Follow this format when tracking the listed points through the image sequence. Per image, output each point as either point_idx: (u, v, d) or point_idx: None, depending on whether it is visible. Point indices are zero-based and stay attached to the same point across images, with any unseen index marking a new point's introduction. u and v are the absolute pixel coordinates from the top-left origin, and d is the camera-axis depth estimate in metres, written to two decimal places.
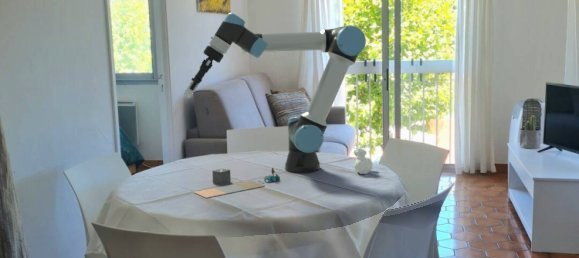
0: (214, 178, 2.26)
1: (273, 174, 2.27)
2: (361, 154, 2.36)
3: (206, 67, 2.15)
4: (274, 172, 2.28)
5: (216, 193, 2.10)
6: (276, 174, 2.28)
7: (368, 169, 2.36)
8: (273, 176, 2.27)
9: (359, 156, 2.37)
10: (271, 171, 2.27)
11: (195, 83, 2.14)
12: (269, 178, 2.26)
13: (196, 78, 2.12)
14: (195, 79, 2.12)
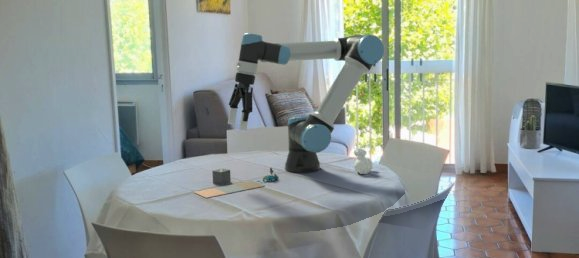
0: (214, 178, 2.26)
1: None
2: (361, 154, 2.36)
3: (250, 94, 2.15)
4: (272, 172, 2.29)
5: (216, 193, 2.10)
6: None
7: (368, 169, 2.36)
8: (272, 176, 2.28)
9: (359, 156, 2.37)
10: (270, 171, 2.27)
11: (247, 114, 2.14)
12: (268, 178, 2.26)
13: (247, 109, 2.12)
14: (247, 110, 2.12)
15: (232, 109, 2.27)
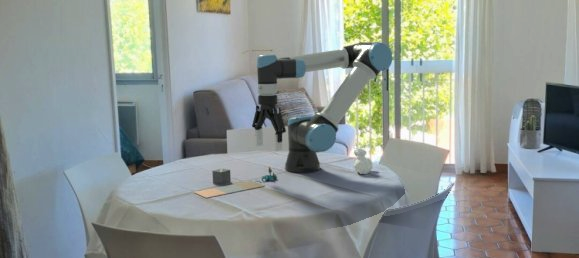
0: (214, 178, 2.26)
1: (270, 173, 2.29)
2: (361, 154, 2.36)
3: (279, 115, 2.17)
4: (271, 171, 2.30)
5: (216, 193, 2.10)
6: (273, 173, 2.29)
7: (368, 169, 2.36)
8: (270, 175, 2.28)
9: (359, 156, 2.37)
10: None
11: (280, 134, 2.17)
12: (266, 177, 2.27)
13: (281, 130, 2.15)
14: (281, 132, 2.15)
15: (258, 131, 2.29)
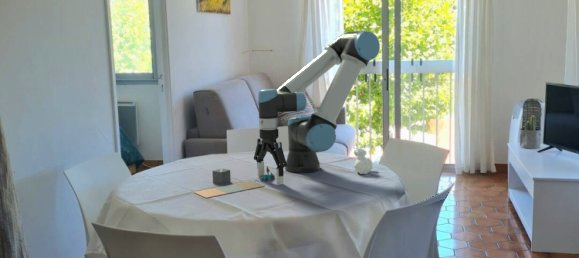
0: (214, 178, 2.26)
1: (268, 173, 2.30)
2: (361, 154, 2.36)
3: (280, 150, 2.19)
4: (269, 171, 2.31)
5: (216, 193, 2.10)
6: (271, 173, 2.30)
7: (368, 169, 2.36)
8: (268, 175, 2.30)
9: (359, 156, 2.37)
10: None
11: (282, 169, 2.19)
12: (265, 177, 2.28)
13: (283, 165, 2.17)
14: (282, 166, 2.17)
15: (260, 163, 2.31)
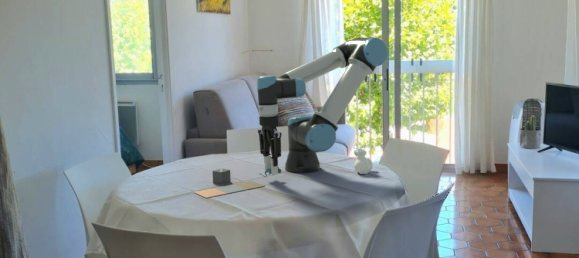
0: (214, 178, 2.26)
1: None
2: (361, 154, 2.36)
3: (279, 140, 2.20)
4: None
5: (216, 193, 2.10)
6: None
7: (368, 169, 2.36)
8: None
9: (359, 156, 2.37)
10: None
11: (276, 159, 2.23)
12: (269, 171, 2.25)
13: (277, 155, 2.21)
14: (277, 156, 2.21)
15: (266, 157, 2.27)
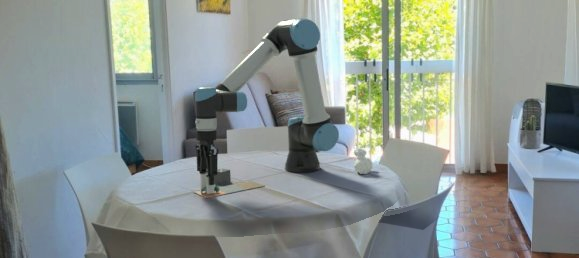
0: (214, 178, 2.26)
1: None
2: (361, 154, 2.36)
3: (215, 157, 2.04)
4: None
5: (216, 193, 2.10)
6: (215, 185, 2.10)
7: (368, 169, 2.36)
8: None
9: (359, 156, 2.37)
10: None
11: (212, 177, 2.06)
12: (206, 189, 2.09)
13: (212, 173, 2.04)
14: (212, 174, 2.04)
15: (203, 175, 2.10)
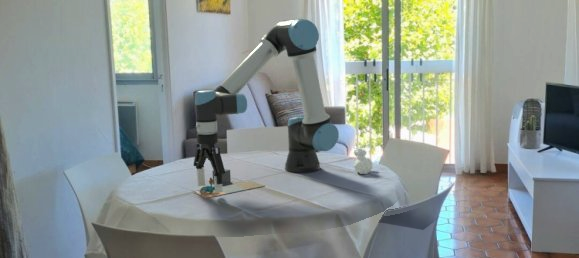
0: None
1: (211, 184, 2.11)
2: (361, 154, 2.36)
3: (218, 156, 2.03)
4: (213, 182, 2.11)
5: (216, 193, 2.10)
6: None
7: (368, 169, 2.36)
8: (210, 187, 2.10)
9: (359, 156, 2.37)
10: None
11: (220, 176, 2.03)
12: (205, 189, 2.09)
13: (220, 172, 2.01)
14: (220, 173, 2.01)
15: (199, 170, 2.15)
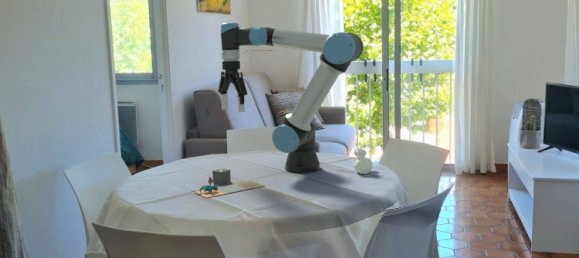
0: (214, 178, 2.26)
1: (210, 184, 2.12)
2: (361, 154, 2.36)
3: (241, 79, 2.33)
4: None
5: (216, 193, 2.10)
6: (214, 184, 2.12)
7: (368, 169, 2.36)
8: (210, 186, 2.11)
9: (359, 156, 2.37)
10: (208, 180, 2.11)
11: (243, 97, 2.33)
12: (205, 188, 2.10)
13: (243, 92, 2.31)
14: (243, 94, 2.31)
15: (223, 95, 2.45)
